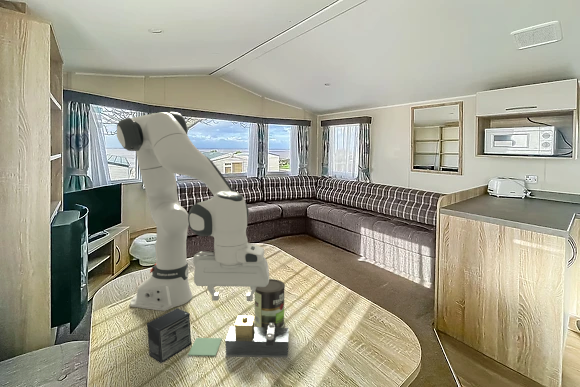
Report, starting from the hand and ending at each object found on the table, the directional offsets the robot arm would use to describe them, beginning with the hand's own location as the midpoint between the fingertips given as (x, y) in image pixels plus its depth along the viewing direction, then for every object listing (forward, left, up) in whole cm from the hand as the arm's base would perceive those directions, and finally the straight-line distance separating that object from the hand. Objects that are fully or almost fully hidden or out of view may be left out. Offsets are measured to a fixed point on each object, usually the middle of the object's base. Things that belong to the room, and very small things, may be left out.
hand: (232, 299), depth 87 cm
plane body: (+6, +5, -18) cm, 20 cm away
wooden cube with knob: (+2, +5, -13) cm, 15 cm away
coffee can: (+9, +18, -19) cm, 28 cm away
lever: (+10, +2, -13) cm, 17 cm away
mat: (-10, +5, -18) cm, 21 cm away
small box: (-20, +4, -19) cm, 27 cm away
